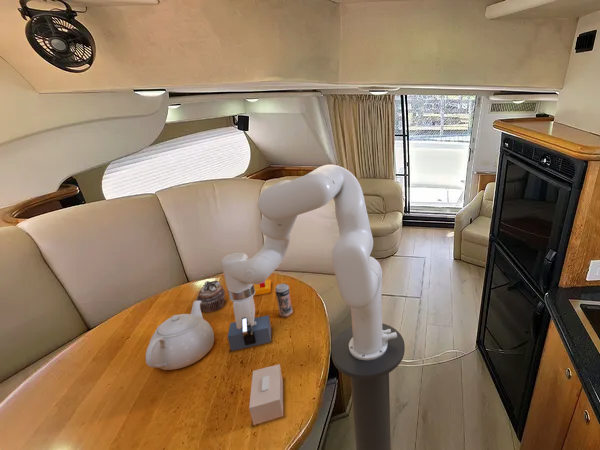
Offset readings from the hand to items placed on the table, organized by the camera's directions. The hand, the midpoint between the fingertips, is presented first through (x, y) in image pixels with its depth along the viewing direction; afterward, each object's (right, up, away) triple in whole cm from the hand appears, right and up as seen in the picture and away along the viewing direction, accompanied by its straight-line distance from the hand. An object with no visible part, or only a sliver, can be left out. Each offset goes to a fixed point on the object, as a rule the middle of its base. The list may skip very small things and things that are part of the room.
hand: (251, 335), depth 105 cm
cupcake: (-24, +5, +18) cm, 31 cm away
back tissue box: (0, -2, +1) cm, 2 cm away
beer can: (+7, +3, +14) cm, 16 cm away
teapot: (-19, -4, -5) cm, 20 cm away
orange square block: (-10, +9, +29) cm, 32 cm away
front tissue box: (+15, -10, -21) cm, 28 cm away
